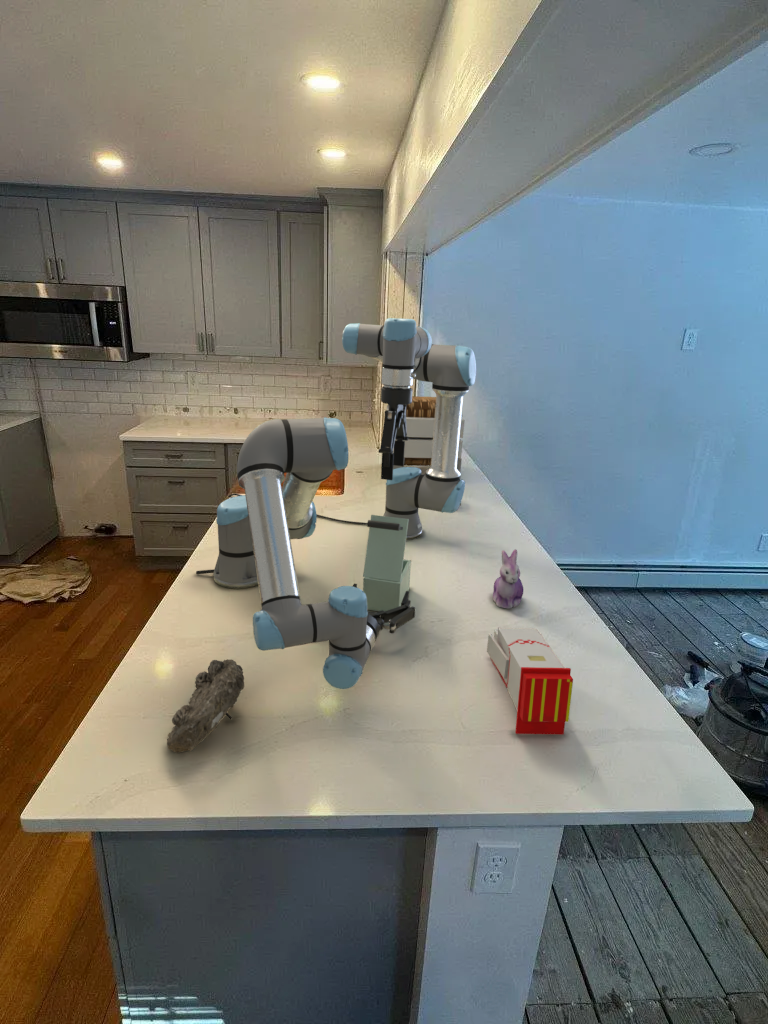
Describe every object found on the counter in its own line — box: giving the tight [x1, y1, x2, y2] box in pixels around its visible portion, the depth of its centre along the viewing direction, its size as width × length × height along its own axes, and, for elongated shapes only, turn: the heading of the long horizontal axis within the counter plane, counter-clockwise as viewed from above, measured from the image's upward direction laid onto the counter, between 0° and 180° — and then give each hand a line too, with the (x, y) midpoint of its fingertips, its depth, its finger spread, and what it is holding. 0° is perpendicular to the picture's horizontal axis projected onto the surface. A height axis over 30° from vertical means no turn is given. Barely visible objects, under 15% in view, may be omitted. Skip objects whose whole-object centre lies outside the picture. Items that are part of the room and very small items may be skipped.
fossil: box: [166, 658, 245, 754], centre depth 106 cm, size 22×10×15 cm
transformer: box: [386, 395, 465, 473], centre depth 268 cm, size 34×33×41 cm
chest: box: [362, 558, 412, 612], centre depth 154 cm, size 15×10×9 cm, turn 167°
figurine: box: [492, 548, 524, 609], centre depth 154 cm, size 9×10×15 cm
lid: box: [362, 514, 409, 582], centre depth 142 cm, size 16×10×8 cm
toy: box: [486, 627, 574, 736], centre depth 118 cm, size 12×13×30 cm
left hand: (381, 592), depth 145 cm, fingers open, 13 cm apart
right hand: (392, 472), depth 143 cm, fingers open, 13 cm apart
